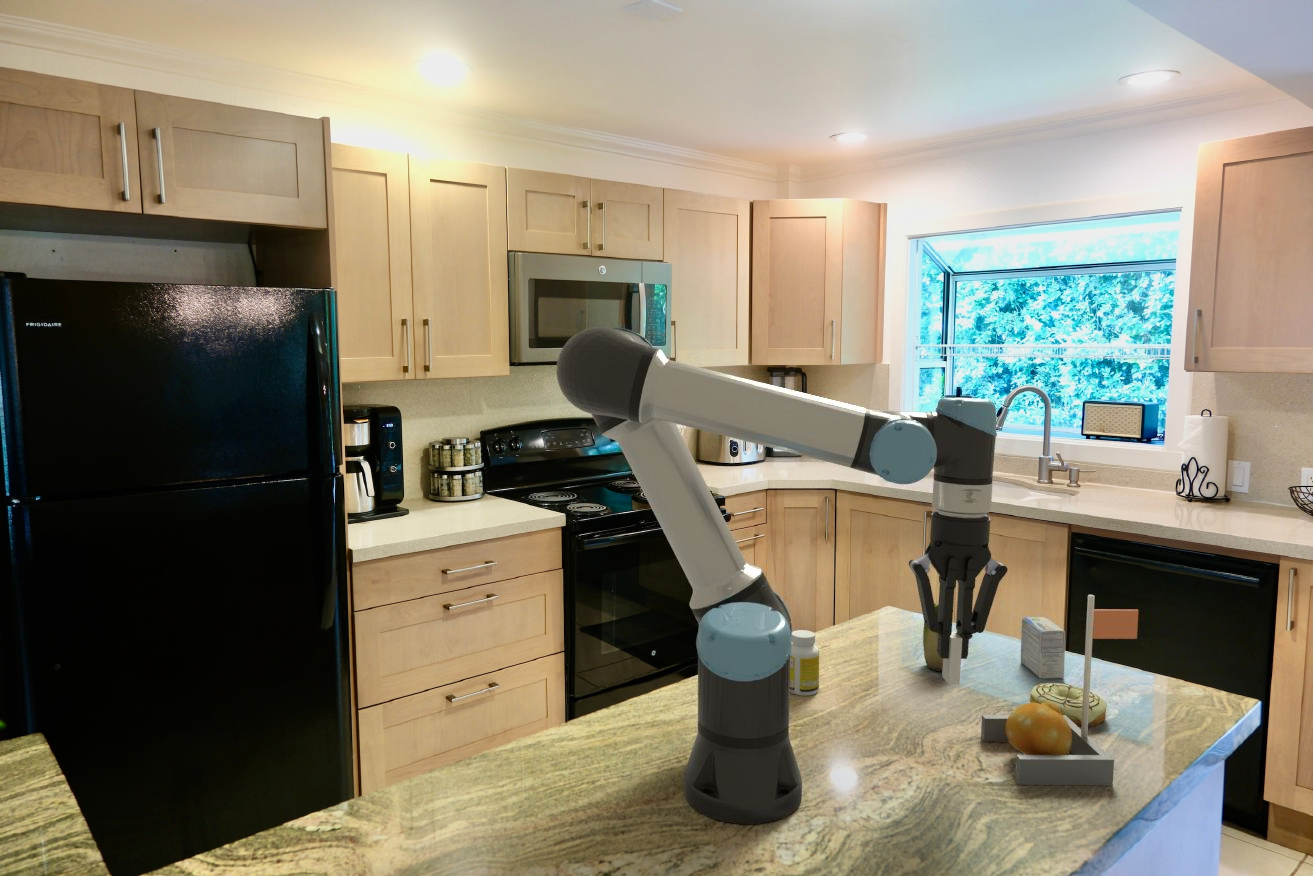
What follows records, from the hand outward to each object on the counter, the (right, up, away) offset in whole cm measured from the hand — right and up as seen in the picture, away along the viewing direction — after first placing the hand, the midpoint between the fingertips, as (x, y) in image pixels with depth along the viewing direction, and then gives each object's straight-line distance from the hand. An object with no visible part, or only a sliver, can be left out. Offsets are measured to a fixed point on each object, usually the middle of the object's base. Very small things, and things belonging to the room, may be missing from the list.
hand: (950, 680), depth 115 cm
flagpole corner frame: (+16, -11, +1) cm, 20 cm away
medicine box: (+28, -8, +34) cm, 45 cm away
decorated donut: (+24, -10, +16) cm, 30 cm away
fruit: (+12, -12, +1) cm, 17 cm away
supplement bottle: (-16, -9, +25) cm, 31 cm away
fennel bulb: (+10, -8, +35) cm, 37 cm away
